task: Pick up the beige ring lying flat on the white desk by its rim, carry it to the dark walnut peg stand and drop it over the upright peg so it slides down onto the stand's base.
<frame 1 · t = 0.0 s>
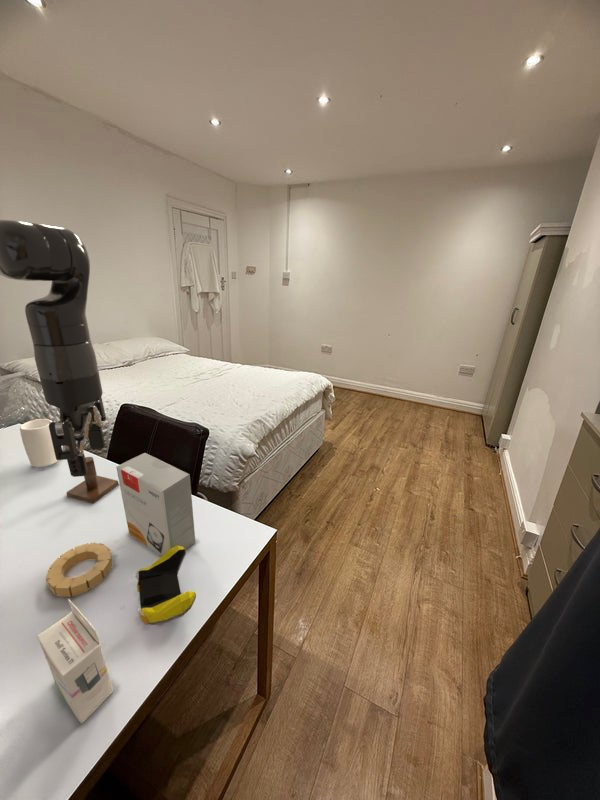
hand: (89, 460, 55), 30 cm above the table, tool pointing down, fingers open, 8 cm apart
ink box: (84, 689, 50), on the table
stand: (93, 490, 93), on the table
hard drive box: (162, 539, 78), on the table
ring: (82, 572, 68), on the table
cup: (47, 463, 104), on the table
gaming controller: (166, 595, 65), on the table
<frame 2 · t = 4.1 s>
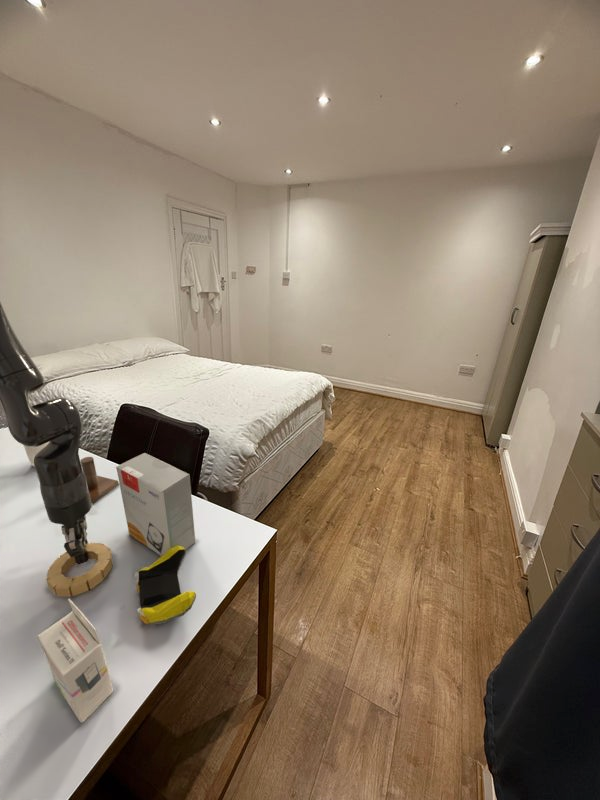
hand: (83, 556, 72), 0 cm above the table, tool pointing down, fingers closed on ring, 2 cm apart
ring: (82, 571, 68), on the table, touching gripper
everything else where it was.
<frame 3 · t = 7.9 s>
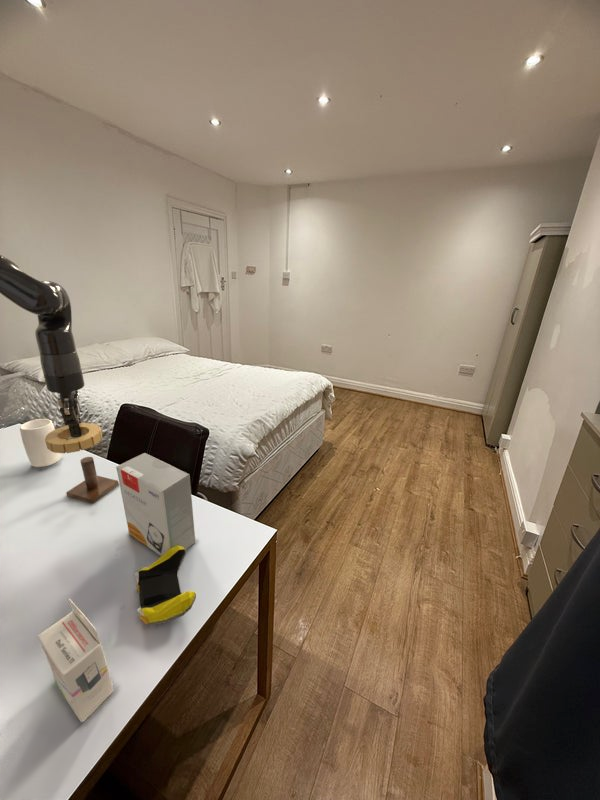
hand: (77, 433, 83), 20 cm above the table, tool pointing down, fingers closed on ring, 2 cm apart
ring: (75, 441, 80), point 20 cm above the table, touching gripper
everything else where it was.
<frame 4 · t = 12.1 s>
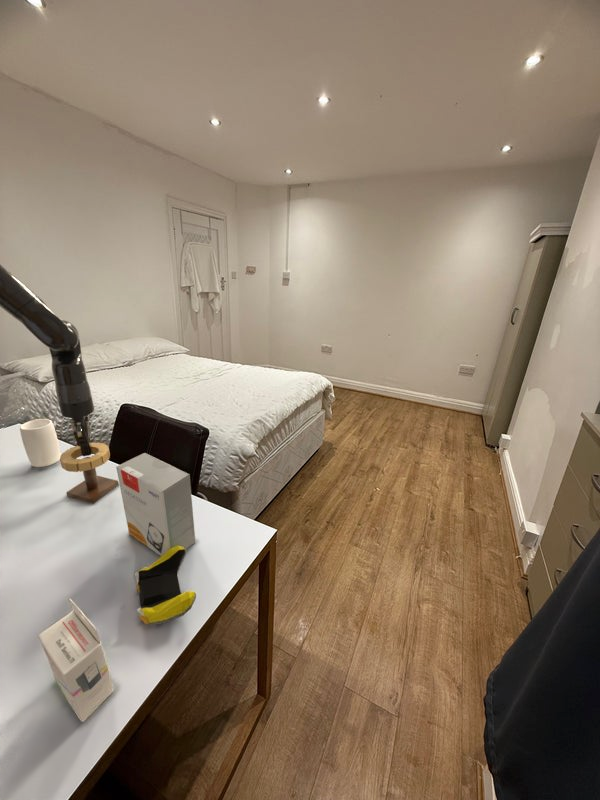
hand: (87, 452, 92), 10 cm above the table, tool pointing down, fingers closed on ring, 2 cm apart
ring: (86, 460, 89), point 10 cm above the table, touching gripper
everything else where it was.
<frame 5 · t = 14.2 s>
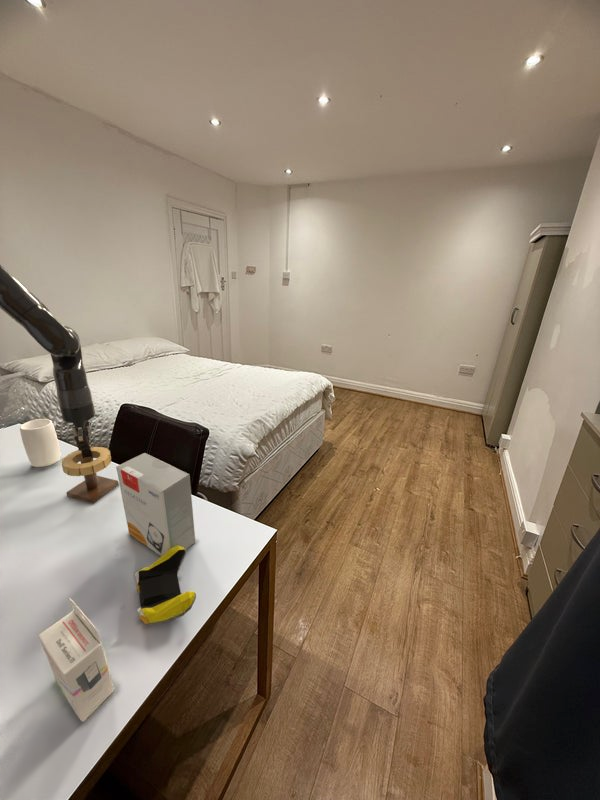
hand: (88, 456, 93), 9 cm above the table, tool pointing down, fingers closed on ring, 2 cm apart
ring: (88, 464, 90), point 9 cm above the table, touching gripper
everything else where it was.
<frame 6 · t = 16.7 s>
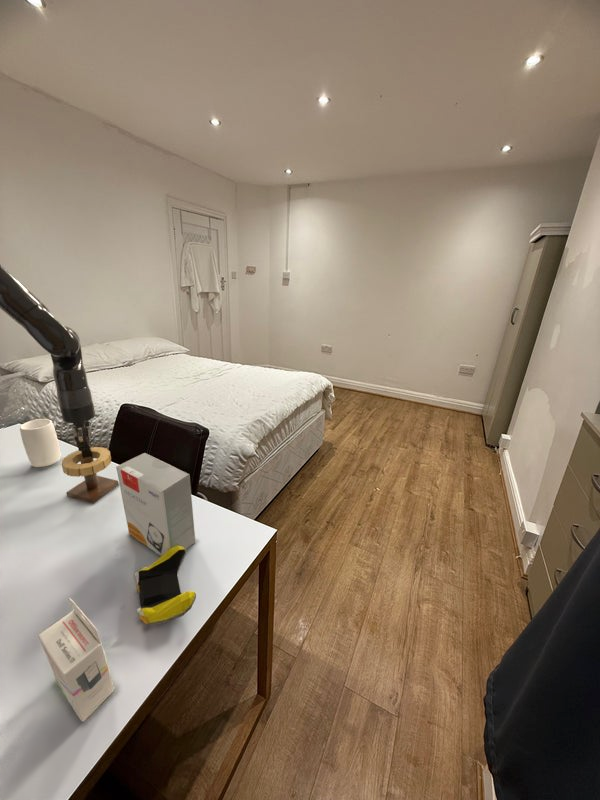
hand: (88, 456, 93), 9 cm above the table, tool pointing down, fingers closed on ring, 2 cm apart
ring: (88, 464, 90), point 9 cm above the table, touching gripper
everything else where it was.
when the fingers open (12 cm above the table, at t = 20.2 s): ring drops 10 cm, resting on stand.
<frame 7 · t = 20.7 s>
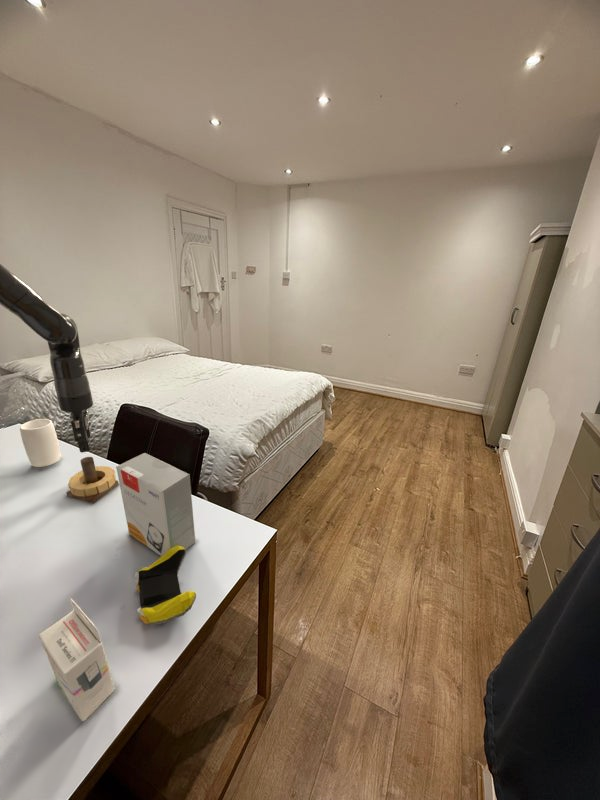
hand: (85, 444, 92), 13 cm above the table, tool pointing down, fingers open, 8 cm apart
ring: (93, 483, 93), point 1 cm above the table, touching stand
everything else where it was.
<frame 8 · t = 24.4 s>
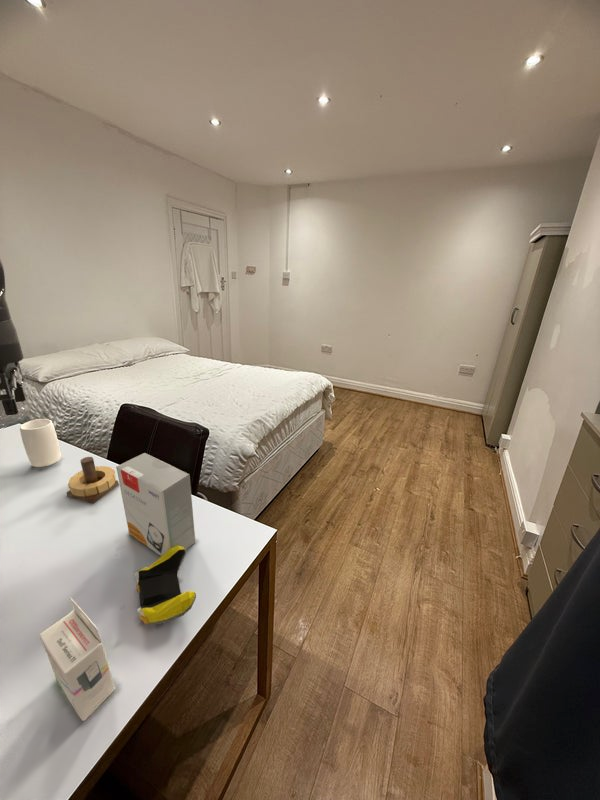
hand: (16, 407, 77), 28 cm above the table, tool pointing down, fingers open, 8 cm apart
nothing on the table moved.
at the end: ring 1.2 cm from the stand (horizontally); ring 1.1 cm off-centre on the stand, point 1.5 cm above the stand's base; the gripper is holding nothing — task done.
